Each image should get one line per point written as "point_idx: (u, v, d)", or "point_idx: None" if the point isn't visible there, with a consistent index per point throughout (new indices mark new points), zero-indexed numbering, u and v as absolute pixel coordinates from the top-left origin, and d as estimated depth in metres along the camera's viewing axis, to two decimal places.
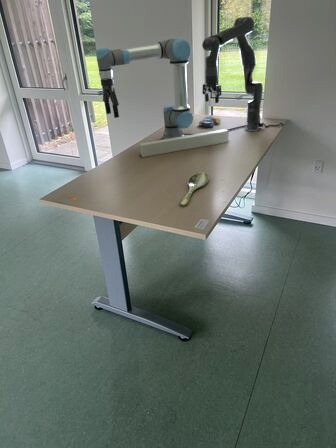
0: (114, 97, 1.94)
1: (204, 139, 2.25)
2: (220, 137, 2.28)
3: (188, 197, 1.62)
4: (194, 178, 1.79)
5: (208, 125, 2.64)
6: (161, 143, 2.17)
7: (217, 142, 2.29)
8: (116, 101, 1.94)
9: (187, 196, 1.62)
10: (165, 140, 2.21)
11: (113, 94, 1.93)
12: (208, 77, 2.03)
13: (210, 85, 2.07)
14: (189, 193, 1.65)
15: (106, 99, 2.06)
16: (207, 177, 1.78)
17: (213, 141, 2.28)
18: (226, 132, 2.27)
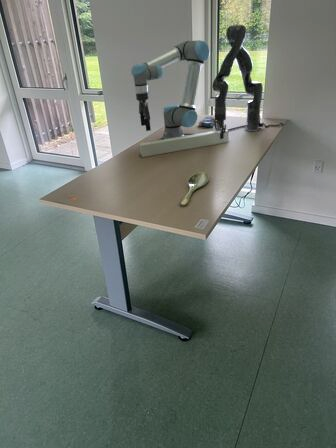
0: None
1: (204, 139, 2.25)
2: None
3: (188, 197, 1.62)
4: (194, 178, 1.79)
5: (208, 125, 2.64)
6: (161, 143, 2.17)
7: (217, 142, 2.29)
8: None
9: (187, 196, 1.62)
10: (165, 140, 2.21)
11: None
12: (216, 115, 2.21)
13: (218, 121, 2.25)
14: (189, 193, 1.65)
15: None
16: (207, 177, 1.78)
17: (213, 141, 2.28)
18: (226, 132, 2.27)
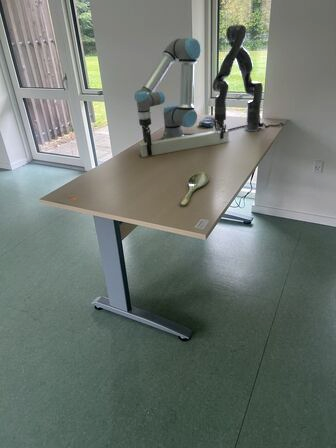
0: None
1: (204, 139, 2.25)
2: None
3: (188, 197, 1.62)
4: (194, 178, 1.79)
5: (208, 125, 2.64)
6: (161, 143, 2.17)
7: (217, 142, 2.29)
8: None
9: (187, 196, 1.62)
10: (165, 140, 2.21)
11: None
12: (216, 115, 2.21)
13: (218, 121, 2.25)
14: (189, 193, 1.65)
15: None
16: (207, 177, 1.78)
17: (213, 141, 2.28)
18: (226, 132, 2.27)
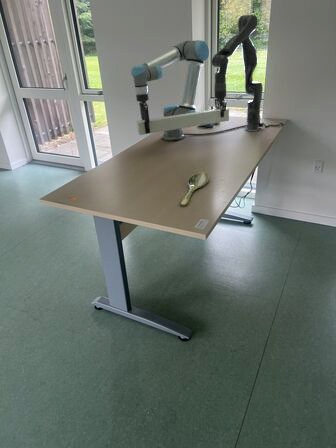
0: None
1: (204, 117, 2.18)
2: (220, 116, 2.21)
3: (188, 197, 1.62)
4: (194, 178, 1.79)
5: (208, 125, 2.64)
6: (159, 120, 2.10)
7: (217, 121, 2.22)
8: None
9: (187, 196, 1.62)
10: (164, 117, 2.13)
11: None
12: (216, 92, 2.13)
13: (218, 99, 2.17)
14: (189, 193, 1.65)
15: None
16: (207, 177, 1.78)
17: (213, 119, 2.20)
18: (227, 110, 2.20)
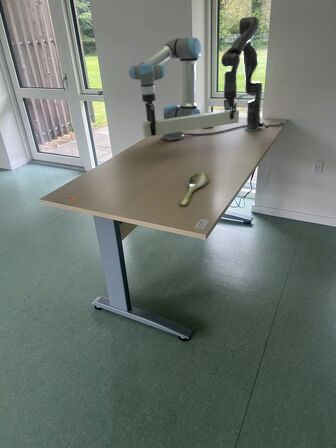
0: None
1: (212, 119, 2.07)
2: (229, 117, 2.10)
3: (188, 197, 1.62)
4: (194, 178, 1.79)
5: None
6: (165, 122, 2.00)
7: (226, 123, 2.11)
8: None
9: (187, 196, 1.62)
10: (171, 119, 2.03)
11: None
12: (225, 93, 2.03)
13: (228, 100, 2.07)
14: (189, 193, 1.65)
15: None
16: (207, 177, 1.78)
17: (222, 121, 2.10)
18: (236, 112, 2.09)
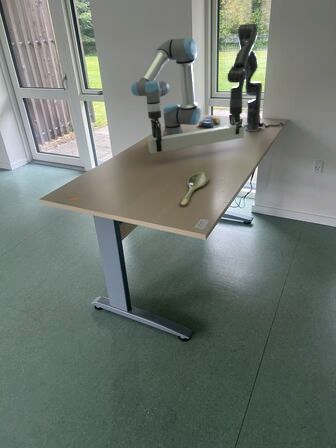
0: None
1: (218, 135, 2.07)
2: (235, 133, 2.10)
3: (188, 197, 1.62)
4: (194, 178, 1.79)
5: (208, 125, 2.64)
6: (171, 138, 1.99)
7: (232, 138, 2.11)
8: None
9: (187, 196, 1.62)
10: (176, 135, 2.02)
11: None
12: (231, 108, 2.02)
13: (234, 115, 2.06)
14: (189, 193, 1.65)
15: None
16: (207, 177, 1.78)
17: (228, 136, 2.09)
18: (242, 127, 2.09)
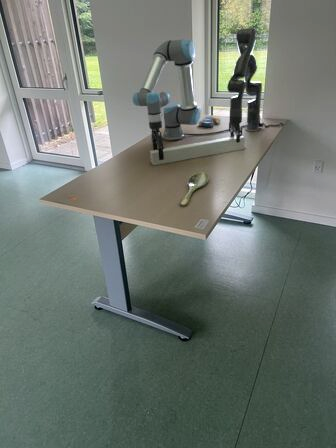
0: None
1: (219, 146, 2.11)
2: (235, 144, 2.13)
3: (188, 197, 1.62)
4: (194, 178, 1.79)
5: (208, 125, 2.64)
6: (173, 150, 2.03)
7: (232, 149, 2.15)
8: None
9: (187, 196, 1.62)
10: (178, 147, 2.06)
11: None
12: (231, 118, 2.05)
13: (233, 124, 2.09)
14: (189, 193, 1.65)
15: None
16: (207, 177, 1.78)
17: (228, 148, 2.13)
18: (242, 138, 2.13)
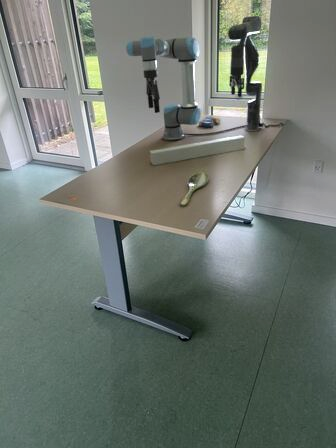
0: None
1: (219, 146, 2.11)
2: (235, 144, 2.13)
3: (188, 197, 1.62)
4: (194, 178, 1.79)
5: (208, 125, 2.64)
6: (173, 150, 2.03)
7: (232, 149, 2.15)
8: None
9: (187, 196, 1.62)
10: (178, 147, 2.06)
11: None
12: (232, 69, 1.91)
13: (235, 77, 1.95)
14: (189, 193, 1.65)
15: None
16: (207, 177, 1.78)
17: (228, 148, 2.13)
18: (242, 138, 2.13)
